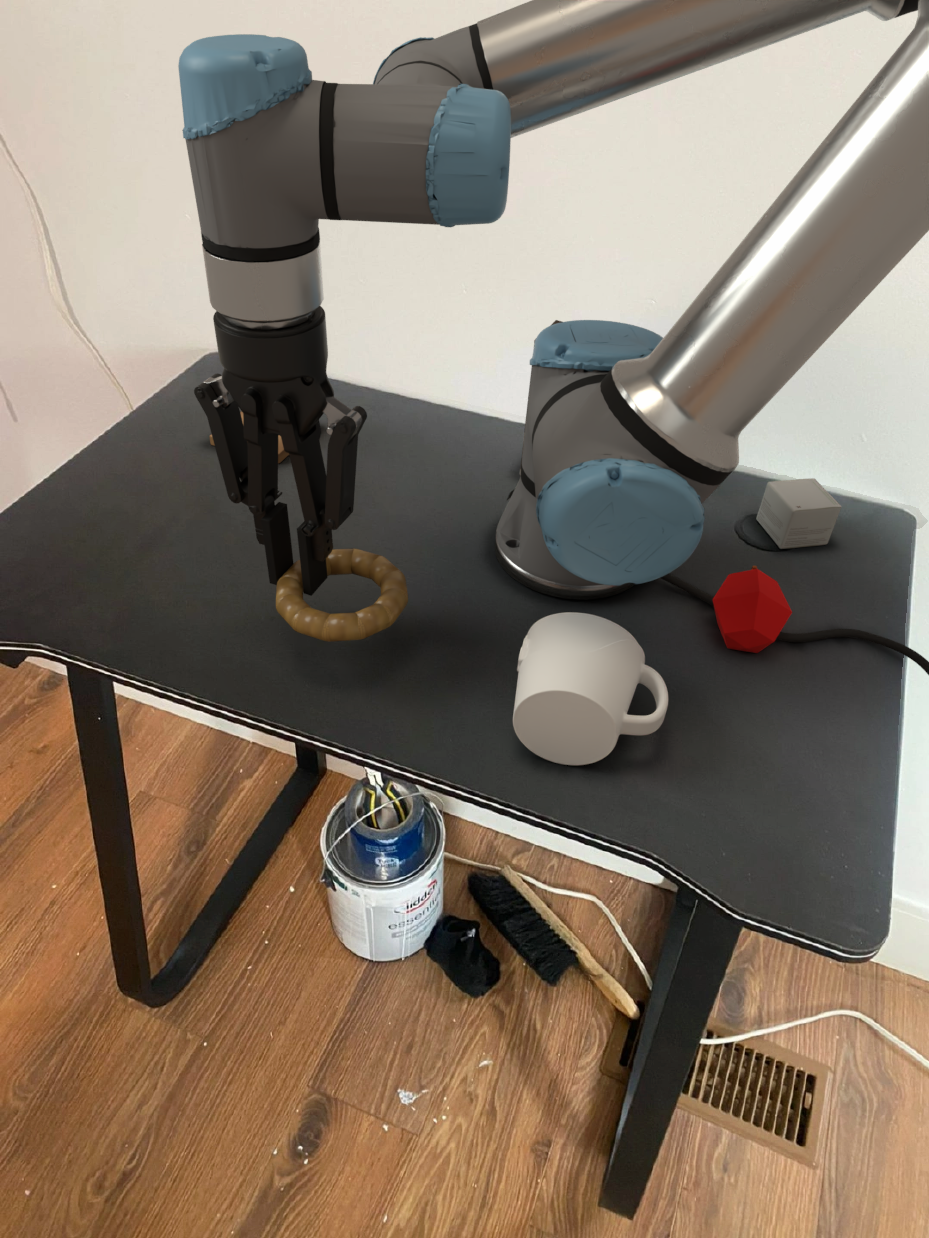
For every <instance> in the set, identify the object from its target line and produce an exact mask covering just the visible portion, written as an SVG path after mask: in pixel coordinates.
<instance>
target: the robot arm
mask: <svg viewBox="0 0 929 1238" xmlns="http://www.w3.org/2000/svg"><path fill="white" fill-rule="evenodd" d="M863 12H867V13H869V14H871V15H872V16H873V17H875V18H876V19H878V20H879V21H882V22H887V21H890V20H893V19H896V18H900V17H901V16H905V15H908V14H910V13H914V12H917V18H916V20H915V21H916V22H915V25H914V28H913V29H912V30H911V31H910V32H909V34H908V35H907V37H905V39H904V40H903V41H902V43H901V44H900V45H899V46H898V48H897V49H896V50H895V51H894V52H893V54H892V55H891V56H890V57H889V59H888V60H887V61H886V63H885V64H884V65H883V66H882V67H881V68H880V70H879V71H878V72H877V74H876V75H875V76H874V77H873V78H872V79H871V81H870V82H869V83H868V85H867V86H866V87H865V88H864V89H863V91H862V92H861V93H860V94H859V96H858V97H857V98H856V99H855V100H854V101H853V102H852V105H850V107H849V108H848V109H847V110H846V112H845V113H844V114H843V115H842V116H841V118H840V119H839V120H838V122H837V123H836V124H835V126H834V127H833V128H832V129H831V130H830V132H829V133H828V134H827V135H826V136H825V138H824V139H823V140H822V141H821V143H820V144H819V145H818V147H817V148H816V149H815V150H814V151H813V153H811V155H810V156H809V158H807V160H806V161H805V162H804V163H803V165H802V166H801V167H800V168H799V170H798V171H797V172H796V173H795V175H794V176H793V177H792V178H791V180H790V181H789V182H788V183H787V184H786V186H785V187H784V188H783V189H782V191H781V192H780V193H779V195H778V196H777V197H776V198H775V199H774V201H773V202H772V203H771V204H770V206H769V207H768V208H767V209H766V211H765V212H764V213H763V214H762V215H761V217H760V218H759V219H758V220H757V222H756V223H755V224H754V225H753V227H752V228H751V229H750V230H749V232H747V234H746V235H745V236H744V238H743V239H742V241H740V243H739V244H738V245H737V246H736V247H735V249H734V250H733V251H732V253H731V254H730V255H729V256H728V258H727V259H726V260H725V261H724V262H723V264H722V265H721V266H720V267H719V269H718V270H717V271H716V272H715V273H714V275H713V276H712V277H711V278H710V279H709V281H708V282H707V283H706V284H705V286H704V287H703V289H702V290H701V291H700V292H699V293H698V294H697V296H696V297H695V298H694V300H692V302H691V303H690V304H689V306H688V307H687V308H686V309H685V310H684V312H683V313H682V314H681V316H680V317H679V318H678V319H677V320H676V322H675V323H674V324H673V325H672V327H671V328H670V329H669V331H667V333H666V334H665V336H662V335H660V334H658V333H656V332H655V331H654V330H653V331H652V330H650V329H647V328H645V327H642V326H641V327H640V326H638V325H634V324H630V323H625V322H621V321H619V322H618V321H612V320H602V319H575V320H574V319H573V320H566V321H562V322H561V323H557V324H554V325H551V324H550V325H551V326H550V325H549V326H547V327H545V328H543V329H542V330H541V331H540V332H539V333H538V334H537V336H536V338H535V339H536V340H535V339H534V340H535V344H534V343H533V351H532V357H531V358H530V359H529V365H530V366H531V368H532V369H531V368H530V369H531V370H530V377H531V378H530V377H529V386H530V388H529V387H528V394H529V397H528V396H527V403H528V407H527V406H526V412H527V416H526V415H525V421H526V426H525V425H524V430H525V435H524V434H523V439H524V444H523V443H522V448H523V454H522V453H521V458H522V464H521V463H520V466H521V474H520V473H519V474H520V475H519V480H518V482H517V483H516V486H515V488H514V489H513V490H511V491H510V492H509V494H508V496H507V498H506V501H505V502H507V504H506V506H505V508H504V510H503V512H502V514H501V516H500V518H499V521H498V523H497V525H496V529H495V540H494V552H495V556H496V559H497V561H498V563H499V565H500V566H501V567H502V569H503V570H504V571H505V573H507V574H508V575H509V576H510V577H511V578H512V579H514V580H515V581H516V582H518V583H520V584H521V585H523V586H524V587H526V588H529V589H530V590H533V591H536V592H537V593H541V594H544V595H547V596H550V597H553V598H554V597H555V598H560V599H566V600H567V599H568V600H577V601H579V600H581V601H584V600H599V599H604V598H609V597H612V596H615V595H619V594H621V593H623V592H625V591H628V590H629V589H630V588H632V587H633V586H635V585H640V584H644V583H648V582H653V581H654V580H658V579H661V580H663V581H665V582H667V583H669V584H670V585H673V586H675V587H676V588H679V589H680V590H683V591H684V592H686V593H688V594H690V595H692V596H694V597H696V598H698V599H700V600H702V601H703V602H705V603H706V604H709V605H710V606H712V607H714V605H713V600H712V599H713V598H714V596H713V595H711V594H710V593H708V592H706V591H704V590H702V589H700V588H698V587H696V586H694V585H692V584H691V583H689V582H687V581H684V580H683V579H681V578H679V577H677V576H675V575H673V574H671V573H672V572H674V571H675V570H677V569H678V568H679V567H681V566H682V565H683V564H685V563H686V562H687V561H688V560H689V558H690V557H691V556H692V555H693V554H694V552H695V550H696V549H697V548H698V546H699V544H700V542H701V539H702V535H703V532H704V524H705V521H706V517H705V508H704V506H703V503H705V502H706V500H707V499H708V498H709V497H710V496H711V495H712V494H713V493H714V492H715V491H716V490H717V489H718V488H719V487H720V486H721V484H722V483H723V482H724V481H725V480H726V479H727V478H728V477H729V476H730V475H731V474H732V473H733V472H734V471H735V470H736V468H737V467H738V465H740V464H739V463H740V448H739V447H740V446H739V445H740V444H739V437H740V435H741V432H742V431H744V429H745V428H746V427H747V426H748V425H749V424H750V423H751V422H752V421H753V420H754V419H755V417H757V415H759V414H760V412H761V411H762V410H763V409H764V408H765V407H766V406H767V405H768V404H769V402H770V401H771V400H772V399H773V398H774V397H775V396H776V395H777V394H778V393H779V392H780V391H781V389H783V387H784V386H785V385H787V383H788V382H789V381H790V380H791V379H792V378H793V377H794V376H795V374H797V373H798V372H799V370H800V369H801V368H802V367H803V366H804V365H805V364H806V363H807V362H808V361H809V360H810V358H812V357H813V355H814V354H815V353H816V352H817V351H818V350H820V348H821V347H822V345H824V344H825V342H826V341H827V340H828V339H829V338H830V337H831V336H832V335H833V334H834V333H835V332H836V331H837V329H838V328H839V327H840V326H842V324H844V322H845V321H846V320H847V319H848V318H849V317H850V316H851V314H853V312H854V311H856V309H857V308H858V307H859V306H860V305H861V304H862V303H863V302H864V301H865V300H866V298H867V297H869V296H870V294H871V293H872V292H873V291H874V290H875V289H876V288H877V286H878V285H880V284H881V283H882V281H883V280H884V279H885V278H886V277H887V276H888V275H889V274H890V273H891V271H893V269H894V268H895V267H896V266H897V265H898V264H899V263H900V262H901V261H902V260H903V259H904V258H905V257H906V256H907V254H908V253H909V252H911V250H912V249H913V248H914V247H915V246H916V245H917V244H918V243H919V241H921V240H922V239H923V237H925V235H926V234H927V233H928V232H929V0H529V1H526V2H524V3H522V4H519V5H517V6H513V7H511V8H509V9H506V10H504V11H501V12H498V13H496V14H494V15H491V16H489V17H485V18H484V19H481V20H478V21H477V22H476V23H473V24H471V25H468V26H464V27H461V28H458V29H456V30H453V31H451V32H448V33H445V34H443V35H441V36H438V37H435V38H434V36H433V37H432V36H431V37H425V36H423V37H421V36H420V37H416V38H412V39H410V40H407V41H405V42H404V43H402V44H400V45H399V46H396V47H395V48H394V49H392V50H391V52H390V53H389V54H388V55H387V57H386V58H384V59H383V60H382V61H381V63H380V65H379V67H378V69H377V71H376V73H375V75H374V78H373V81H372V83H338V82H327V81H326V80H317V79H313V72H312V70H311V69H310V68H309V61H308V54H307V52H306V49H305V48H304V47H303V46H302V45H301V44H300V43H299V42H297V41H295V40H294V39H291V38H287V37H283V36H282V37H281V36H268V35H266V34H252V33H251V34H248V33H247V34H245V33H243V34H240V33H238V34H236V33H235V34H222V35H213V36H207V37H202V38H199V39H196V40H194V41H192V42H191V43H190V44H188V45H187V46H186V47H185V48H184V49H183V50H182V52H181V54H180V56H179V59H178V64H177V65H178V66H177V67H178V76H179V86H180V96H181V106H182V107H181V108H182V117H183V118H182V119H183V128H182V137H183V138H182V139H184V140H185V144H186V150H187V157H188V163H189V167H190V168H189V169H190V173H191V174H190V175H191V179H192V186H193V191H194V198H195V203H196V208H197V210H196V211H197V215H198V222H199V227H200V235H201V242H202V244H201V247H202V254H203V262H204V268H205V276H206V283H207V290H208V298H209V303H210V305H211V308H212V309H213V310H215V312H214V314H213V317H212V319H213V320H212V321H213V326H214V333H215V340H216V347H217V354H218V359H219V363H220V364H221V366H222V367H223V370H222V373H214V374H213V375H211V376H210V377H208V378H207V379H205V380H204V381H203V382H201V383H200V384H198V385H197V386H196V387H194V390H193V393H194V396H195V398H196V400H197V401H198V403H199V405H200V407H201V408H202V411H203V413H204V415H206V419H207V423H208V426H209V429H210V433H211V434H212V437H213V441H214V445H215V446H214V449H215V452H216V456H217V459H218V463H219V468H220V470H221V475H222V478H223V482H224V486H225V490H226V494H227V497H228V499H229V500H230V501H231V502H232V503H233V504H240V503H241V504H244V505H246V506H247V507H248V510H249V512H250V513H251V514H252V515H253V522H254V528H255V537H256V538H255V539H256V540H257V542H258V544H259V545H262V546H264V552H265V558H266V567H267V573H268V580H269V581H268V582H269V584H271V585H275V586H277V582H278V580H279V579H280V578H281V577H282V576H283V574H284V573H285V572H286V571H287V570H288V569H289V568H290V567H291V566H292V565H293V564H294V563H295V562H294V555H293V554H294V553H293V545H292V537H291V528H290V519H289V510H288V503H285V502H281V501H278V502H276V501H277V500H278V499H279V498H280V497H281V496H282V495H283V491H280V490H279V463H278V435H280V436H281V439H282V443H283V448H284V451H285V452H287V453H289V455H288V456H289V459H290V463H291V467H292V473H293V477H294V481H295V486H296V489H297V494H298V499H299V503H300V507H301V512H302V517H303V522H302V523H301V524H300V525H299V526H298V527H297V528H296V535H297V545H298V554H299V555H298V556H299V560H300V564H301V574H302V583H303V595H308V596H311V597H312V596H313V595H314V594H315V592H317V590H318V589H319V588H320V587H321V586H322V585H323V583H324V582H325V581H326V580H327V579H328V577H329V576H327V565H326V558H327V557H328V555H329V554H330V553H331V552H332V550H333V549H334V542H333V541H334V540H333V531H337V530H338V529H339V528H340V527H341V526H342V525H343V523H345V521H346V520H348V518H349V517H350V516H351V515H352V513H354V507H355V503H354V502H355V492H356V473H357V460H358V459H357V458H358V444H359V434H360V432H361V430H362V429H363V426H364V424H365V422H366V420H367V419H368V413H367V411H366V409H365V408H364V407H362V406H360V405H356V406H354V407H352V409H351V408H350V407H349V406H348V405H346V404H344V403H343V402H341V401H340V400H339V399H337V398H336V397H335V391H334V387H333V386H332V384H331V382H330V380H329V377H328V374H327V366H328V359H329V347H328V346H329V345H328V332H327V320H326V319H327V318H326V310H325V309H324V308H323V307H322V306H321V305H322V304H323V302H324V299H325V297H324V283H323V269H322V268H323V266H322V253H321V234H320V233H321V232H320V228H319V223H320V221H319V220H328V221H329V220H330V221H350V222H352V221H353V222H370V223H371V222H372V223H391V224H392V223H393V224H413V225H414V224H418V225H435V226H436V225H437V226H440V227H444V228H454V227H455V226H468V225H469V226H470V225H488V224H493V223H495V222H497V221H498V220H499V219H500V218H501V217H502V216H503V214H504V213H505V211H506V207H507V202H508V194H509V193H508V192H509V182H510V181H509V179H510V164H511V143H512V141H511V139H512V138H515V137H517V136H520V135H524V134H526V133H529V132H532V131H535V130H538V129H540V128H543V127H545V126H548V125H552V124H555V123H558V122H559V121H562V120H565V119H568V118H571V117H574V116H576V115H579V114H582V113H585V112H587V111H590V110H594V109H596V108H598V107H601V106H604V105H607V104H609V103H612V102H616V101H618V100H621V99H624V98H627V97H630V96H632V95H635V94H637V93H640V92H643V91H646V90H649V89H651V88H654V87H657V86H660V85H662V84H665V83H668V82H671V81H674V80H676V79H677V80H678V79H680V78H682V77H685V76H688V75H690V74H693V73H696V72H700V71H702V70H704V69H705V70H706V69H707V68H709V67H713V66H715V65H718V64H722V63H724V62H727V61H730V60H732V59H736V58H737V57H741V56H744V55H746V54H750V53H752V52H754V51H758V50H760V49H763V48H766V47H768V46H769V47H770V46H771V45H774V44H777V43H780V42H782V41H785V40H788V39H791V38H793V37H797V36H800V35H802V34H804V33H807V32H810V31H813V30H815V29H818V28H822V27H825V26H828V25H829V24H832V23H835V22H839V21H841V20H844V19H846V18H849V17H852V16H855V15H858V14H860V13H863ZM241 411H242V412H243V422H242V418H241V414H240V412H241ZM323 415H325V417H326V419H327V424H326V426H327V428H326V429H325V432H326V434H328V435H329V436H330V437H329V439H328V444H327V449H326V450H327V451H326V452H327V453H326V466H325V462H324V457H323V452H322V447H321V443H320V440H321V439H320V438H321V436H322V428H321V422H320V419H321V418H322V417H323ZM243 425H244V426H243ZM247 442H248V443H247ZM325 467H326V468H325ZM832 638H853V639H857V640H863V641H866V642H869V643H873V644H875V645H879V646H882V647H885V648H887V649H891V650H893V651H895V652H897V653H898V654H901V655H903V656H905V657H907V658H909V659H910V660H911V661H913V662H914V663H916V665H918V666H919V667H920V668H921V669H922V670H923V671H924V672H925V673H926V674H927V675H928V676H929V660H928V659H927V658H925V657H924V656H923V655H921V654H920V653H919V652H918V651H916V650H914V649H912V648H911V647H909V646H906V645H905V644H902V643H900V642H898V641H895V640H893V639H890V638H887V637H884V636H881V635H878V634H875V633H871V632H868V631H864V630H859V629H854V628H830V629H822V630H817V631H811V632H801V633H800V632H799V633H797V632H795V633H794V632H793V633H792V632H784V631H780V633H779V635H778V636H777V638H776V640H777V641H781V642H790V643H803V642H804V643H805V642H814V641H819V640H826V639H832Z"/></svg>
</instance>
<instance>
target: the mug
mask: <svg viewBox="0 0 929 1238" xmlns="http://www.w3.org/2000/svg"><path fill="white" fill-rule="evenodd" d="M645 663H646V656H645V651H644V649H643V648H642V646H641V645H640V644H639V642H638V641H637V639H636V638H635V637H634V636H633V635H632V633H630V632H629V631H628V630H627V629H626V628H624V627H623V626H621V625H619V624H618V623H616V622H614V621H612V620H610V619H607V618H604V617H603V616H600V615H595V614H591V613H587V612H586V613H585V612H576V611H572V612H571V611H569V612H568V611H567V612H557V613H552V614H550V615H547V616H544V617H542V618H540V619H538V620H536V622H533V624H532V625H531V626H530V628H529V629H528V631H527V633H526V635H525V637H524V638H523V642H522V645H521V647H520V651H519V654H518V660H517V667H516V672H517V680H516V681H517V682H516V689H515V690H516V691H515V698H514V706H513V715H512V726H513V727H512V728H513V730H514V733H515V735H516V737H517V738H518V739H519V741H520V742H521V744H522V745H524V747H526V748H527V749H528V750H529V751H530V752H532V753H533V754H534V755H536V756H538V757H540V758H542V759H544V760H546V761H549V762H552V763H556V764H559V765H565V766H567V765H568V766H584V765H585V766H586V765H589V764H593V763H597V762H599V761H601V760H603V759H604V758H606V757H607V756H609V755H610V754H611V753H612V752H613V750H614V749H615V747H616V745H617V742H618V740H619V737H620V735H627V736H648V735H650V734H653V733H655V732H656V731H658V730H659V729H660V728H661V726H662V725H663V723H664V721H665V718H666V713H667V710H668V707H669V692H668V688H667V685H666V682H665V680H664V678H663V677H662V676H661V674H660V673H659V672H658V671H657V670H656V669H654V668H653V667H651V666H649V665H647V664H645ZM638 684H639V685H643V686H644V687H645V688H647V689H648V690H649V691H650V693H651V694H652V696H653V698H654V702H655V710H654V712H652V713H651V714H648V715H647V714H646V715H638V714H637V715H636V714H628V711H629V709H630V707H631V703H632V700H633V699H634V698H633V697H634V695H635V692H636V689H637V686H638Z"/></svg>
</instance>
